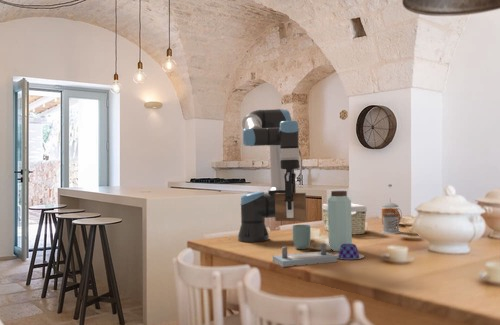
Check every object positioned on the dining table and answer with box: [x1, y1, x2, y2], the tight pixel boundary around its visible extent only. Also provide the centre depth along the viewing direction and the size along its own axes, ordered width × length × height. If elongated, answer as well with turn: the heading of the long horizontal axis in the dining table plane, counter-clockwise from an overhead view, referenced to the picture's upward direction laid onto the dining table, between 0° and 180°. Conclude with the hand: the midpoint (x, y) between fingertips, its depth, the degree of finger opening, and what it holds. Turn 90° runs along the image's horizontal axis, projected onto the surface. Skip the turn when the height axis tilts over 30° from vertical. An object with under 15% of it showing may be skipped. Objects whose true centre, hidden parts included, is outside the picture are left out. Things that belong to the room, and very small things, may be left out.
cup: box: [292, 224, 311, 250], centre depth 208 cm, size 8×8×10 cm
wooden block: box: [274, 192, 307, 222], centre depth 191 cm, size 4×12×11 cm, turn 77°
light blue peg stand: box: [272, 243, 338, 268], centre depth 182 cm, size 11×22×6 cm, turn 106°
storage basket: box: [321, 202, 368, 236], centre depth 251 cm, size 24×16×15 cm
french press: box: [381, 183, 403, 235], centre depth 246 cm, size 10×12×25 cm
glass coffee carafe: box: [381, 207, 402, 225], centre depth 274 cm, size 9×12×9 cm
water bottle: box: [327, 190, 353, 252], centre depth 203 cm, size 10×10×25 cm
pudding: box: [334, 243, 365, 260], centre depth 187 cm, size 12×12×5 cm
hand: (291, 216), depth 192 cm, fingers closed on wooden block, 4 cm apart
